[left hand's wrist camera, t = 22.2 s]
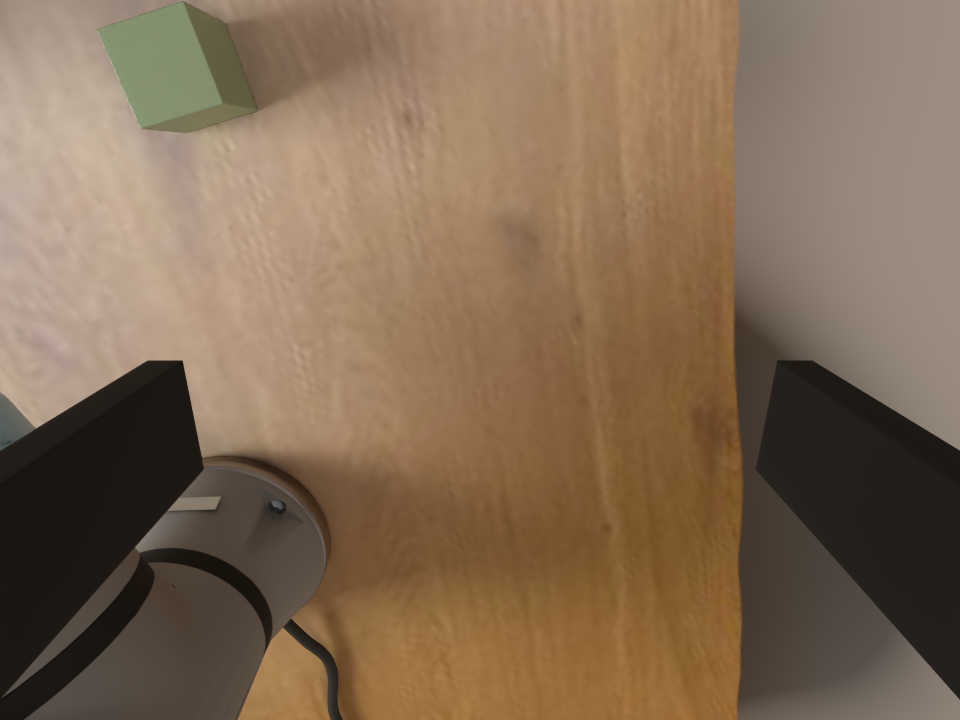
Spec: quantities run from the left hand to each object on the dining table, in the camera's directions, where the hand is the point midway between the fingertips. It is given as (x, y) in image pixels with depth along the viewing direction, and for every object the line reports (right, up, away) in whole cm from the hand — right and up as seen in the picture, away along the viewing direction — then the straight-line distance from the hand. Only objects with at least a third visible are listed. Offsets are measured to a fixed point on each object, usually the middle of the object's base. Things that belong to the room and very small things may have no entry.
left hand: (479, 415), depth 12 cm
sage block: (-17, +19, +22) cm, 33 cm away
